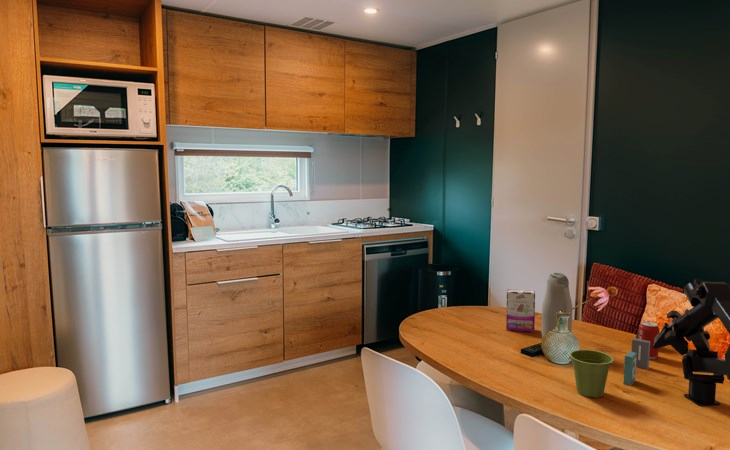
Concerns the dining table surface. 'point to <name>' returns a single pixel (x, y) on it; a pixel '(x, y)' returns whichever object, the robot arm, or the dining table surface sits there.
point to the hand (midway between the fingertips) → (654, 347)
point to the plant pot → (591, 371)
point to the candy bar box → (520, 310)
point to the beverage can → (649, 336)
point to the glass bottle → (556, 301)
